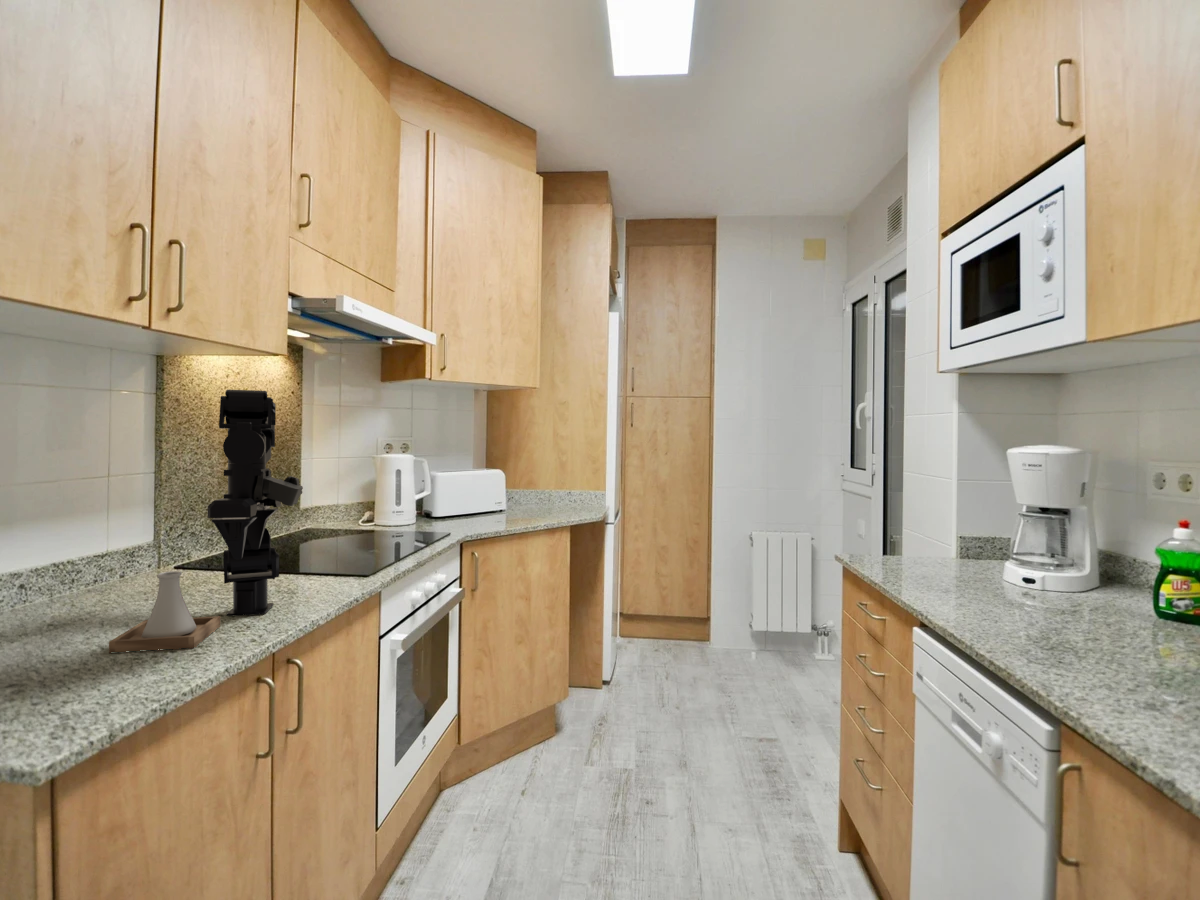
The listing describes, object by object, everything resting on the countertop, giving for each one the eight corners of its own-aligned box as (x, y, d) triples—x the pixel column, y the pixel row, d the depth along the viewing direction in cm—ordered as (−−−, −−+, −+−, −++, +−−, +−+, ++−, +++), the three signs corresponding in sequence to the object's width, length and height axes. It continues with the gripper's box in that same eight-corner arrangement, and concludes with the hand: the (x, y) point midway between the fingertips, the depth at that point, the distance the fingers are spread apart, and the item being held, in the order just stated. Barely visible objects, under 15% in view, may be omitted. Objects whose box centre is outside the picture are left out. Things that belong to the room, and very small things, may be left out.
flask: (205, 627, 107) (205, 568, 107) (176, 641, 100) (175, 578, 100) (163, 626, 107) (163, 568, 107) (131, 640, 100) (130, 577, 100)
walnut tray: (144, 630, 108) (144, 620, 108) (220, 626, 110) (220, 616, 110) (109, 653, 96) (109, 641, 96) (194, 648, 99) (194, 636, 99)
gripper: (283, 465, 101) (283, 562, 101) (310, 461, 119) (310, 543, 119) (206, 465, 98) (206, 565, 99) (245, 461, 117) (245, 545, 117)
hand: (247, 554), depth 108 cm, fingers open, 9 cm apart
